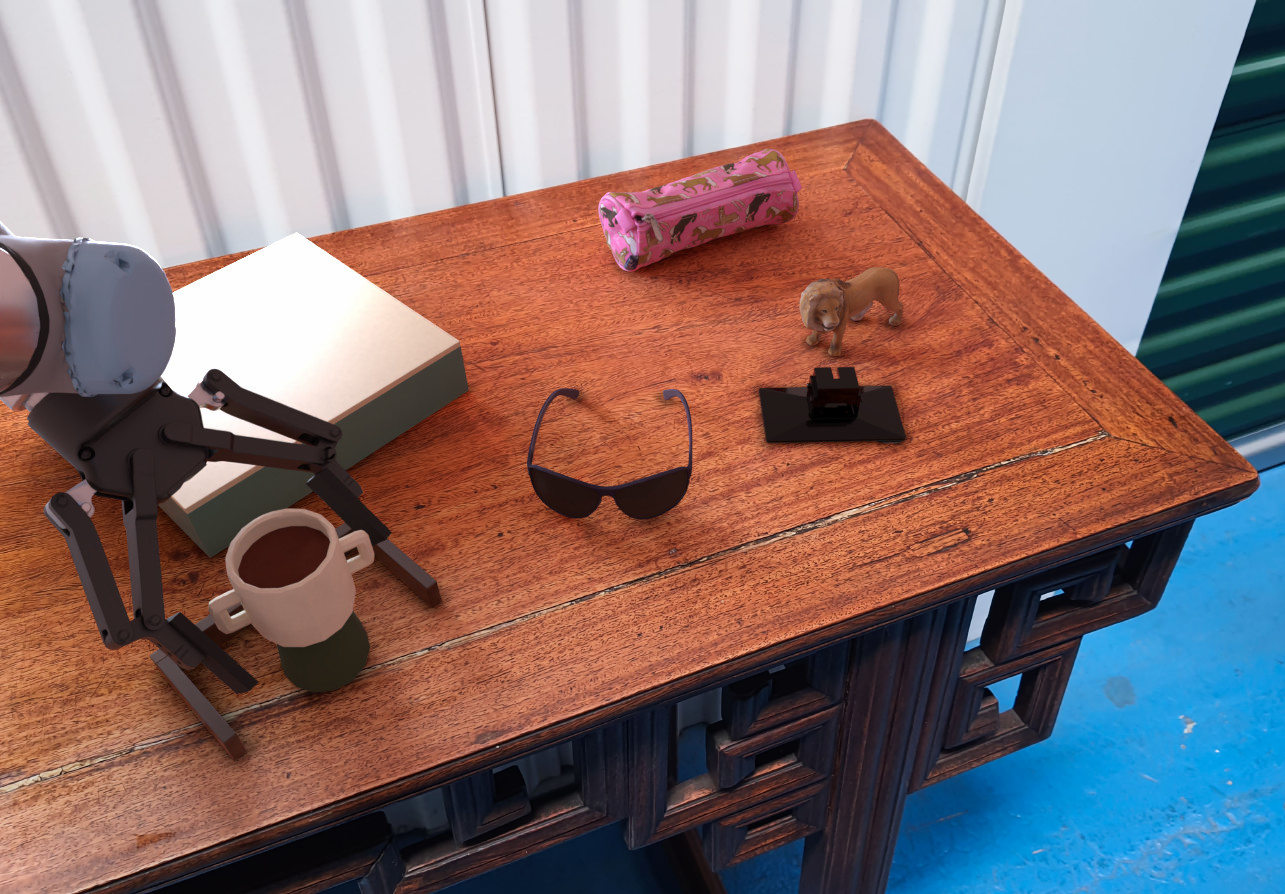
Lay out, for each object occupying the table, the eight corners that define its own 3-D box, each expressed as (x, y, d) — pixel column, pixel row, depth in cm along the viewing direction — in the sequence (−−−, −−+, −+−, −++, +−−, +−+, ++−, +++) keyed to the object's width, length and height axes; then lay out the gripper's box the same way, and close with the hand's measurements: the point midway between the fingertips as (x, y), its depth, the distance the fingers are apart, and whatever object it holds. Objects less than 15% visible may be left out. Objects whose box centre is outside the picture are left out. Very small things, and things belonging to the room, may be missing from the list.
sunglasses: (526, 523, 82) (520, 483, 78) (544, 394, 93) (540, 353, 89) (692, 526, 81) (693, 485, 78) (690, 395, 92) (691, 354, 89)
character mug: (378, 592, 77) (339, 479, 68) (417, 657, 73) (382, 546, 64) (240, 662, 73) (178, 551, 63) (274, 735, 69) (214, 628, 59)
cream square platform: (210, 558, 80) (184, 509, 75) (63, 408, 92) (34, 359, 88) (469, 390, 93) (460, 340, 89) (311, 280, 106) (296, 232, 102)
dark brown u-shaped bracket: (234, 761, 67) (223, 743, 65) (161, 674, 72) (148, 655, 70) (442, 600, 76) (437, 581, 75) (364, 532, 81) (358, 512, 79)
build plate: (890, 389, 93) (899, 350, 90) (906, 444, 88) (916, 406, 85) (758, 390, 93) (762, 352, 89) (766, 445, 88) (771, 407, 84)
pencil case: (631, 292, 104) (629, 219, 97) (593, 247, 109) (589, 175, 103) (803, 238, 110) (812, 166, 104) (759, 198, 116) (765, 128, 110)
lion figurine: (821, 383, 93) (833, 306, 87) (778, 356, 96) (787, 280, 90) (915, 316, 100) (932, 240, 94) (872, 292, 103) (887, 218, 97)
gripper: (202, 292, 72) (406, 499, 78) (-119, 527, 57) (164, 763, 63) (234, 249, 67) (451, 475, 72) (-112, 498, 51) (198, 760, 57)
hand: (319, 609), depth 67 cm, fingers open, 13 cm apart
